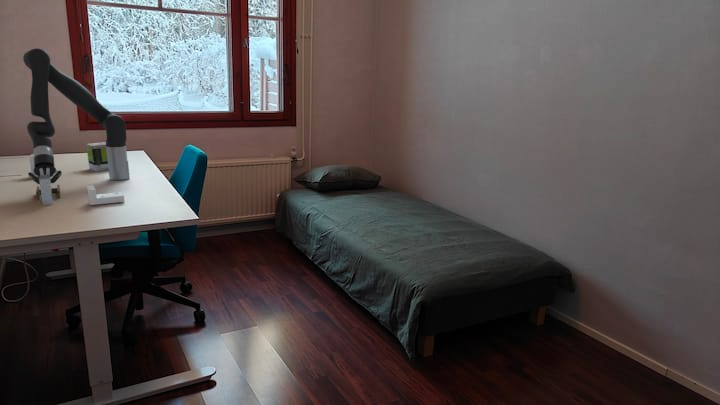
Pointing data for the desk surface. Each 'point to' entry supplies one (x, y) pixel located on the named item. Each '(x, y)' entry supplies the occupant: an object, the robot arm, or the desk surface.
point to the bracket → (103, 197)
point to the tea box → (97, 156)
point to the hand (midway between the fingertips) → (46, 190)
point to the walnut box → (54, 192)
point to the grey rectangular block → (46, 189)
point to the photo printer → (33, 163)
